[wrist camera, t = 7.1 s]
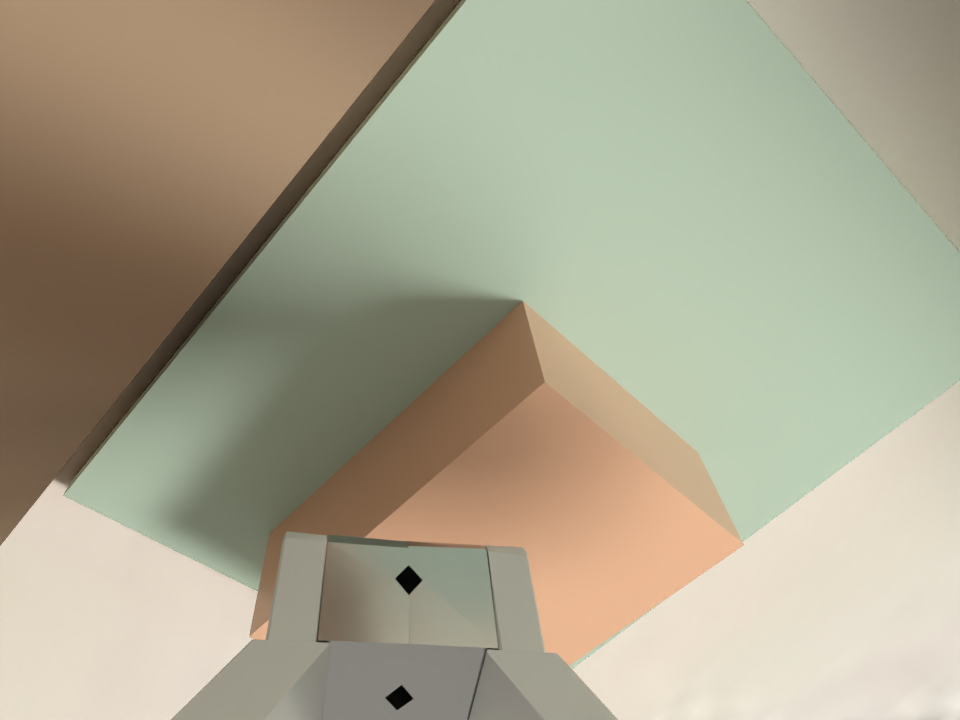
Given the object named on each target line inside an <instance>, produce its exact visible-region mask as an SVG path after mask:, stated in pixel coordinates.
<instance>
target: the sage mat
mask: <svg viewBox="0 0 960 720" xmlns="http://www.w3.org/2000/svg"><path fill="white" fill-rule="evenodd" d="M522 301H524V302H525V303H526V304H527V305H528V306H529V307H531V308H532V309H533V310H534V311H535V312H536V313H538V314H539V315H540V316H541V317H542V318H543V319H544V320H546V321H547V322H548V323H549V324H550V325H551V326H553V327H554V328H555V329H556V330H557V331H558V332H559V333H561V334H562V335H563V336H564V337H565V338H566V339H568V340H569V341H570V342H571V343H572V344H573V345H574V346H576V347H577V348H578V349H579V350H580V351H581V352H583V353H584V354H585V355H586V356H587V357H588V358H589V359H591V360H592V361H593V362H594V363H595V364H596V365H598V366H599V367H600V368H601V369H602V370H603V371H604V372H606V373H607V374H608V375H609V376H610V377H611V378H613V379H614V380H615V381H616V382H617V383H618V384H619V385H621V386H622V387H623V388H624V389H625V390H626V391H628V392H629V393H630V394H631V395H632V396H633V397H634V398H636V399H637V400H638V401H639V402H640V403H641V404H643V405H644V406H645V407H646V408H647V409H648V410H649V411H651V412H652V413H653V414H654V415H655V416H656V417H658V418H659V419H660V420H661V421H662V422H663V423H665V424H666V425H667V426H668V427H669V428H670V429H671V430H673V431H674V432H675V433H676V434H677V435H678V436H680V437H681V438H682V439H683V440H684V441H685V442H686V443H688V444H689V445H690V446H691V447H692V448H693V449H695V450H696V451H697V452H698V453H699V455H700V457H701V459H702V461H703V463H704V465H705V467H706V469H707V471H708V473H709V475H710V477H711V479H712V481H713V483H714V485H715V487H716V489H717V491H718V493H719V496H720V498H721V500H722V502H723V504H724V506H725V508H726V510H727V512H728V514H729V516H730V518H731V520H732V522H733V524H734V526H735V528H736V530H737V532H738V534H739V536H740V538H741V540H742V542H743V541H744V540H746V539H747V538H749V537H750V536H751V535H753V534H754V533H755V532H757V531H758V530H759V529H761V528H762V527H763V526H765V525H766V524H767V523H769V522H770V521H771V520H773V519H774V518H775V517H777V516H778V515H779V514H781V513H782V512H783V511H785V510H786V509H787V508H789V507H790V506H791V505H793V504H794V503H795V502H797V501H798V500H800V499H801V498H802V497H804V496H805V495H806V494H808V493H809V492H810V491H812V490H813V489H814V488H816V487H817V486H818V485H820V484H821V483H822V482H824V481H825V480H826V479H828V478H829V477H830V476H832V475H833V474H834V473H836V472H837V471H838V470H840V469H841V468H842V467H844V466H845V465H847V464H848V463H849V462H851V461H852V460H853V459H855V458H856V457H857V456H859V455H860V454H861V453H863V452H864V451H865V450H867V449H868V448H869V447H871V446H872V445H873V444H875V443H876V442H877V441H879V440H880V439H881V438H883V437H884V436H885V435H887V434H888V433H889V432H891V431H892V430H893V429H895V428H896V427H898V426H899V425H900V424H902V423H903V422H904V421H906V420H907V419H908V418H910V417H911V416H912V415H914V414H915V413H916V412H918V411H919V410H920V409H922V408H923V407H924V406H926V405H927V404H928V403H930V402H931V401H932V400H934V399H935V398H936V397H938V396H939V395H940V394H942V393H943V392H945V391H946V390H947V389H949V388H950V387H951V386H953V385H954V384H955V383H957V382H958V381H959V380H960V252H959V251H958V250H957V249H956V248H955V246H954V245H953V244H952V243H951V242H950V241H949V239H948V238H947V237H946V236H945V235H944V233H943V232H942V231H941V230H940V229H939V228H938V226H937V225H936V224H935V223H934V222H933V220H932V219H931V218H930V217H929V216H928V215H927V213H926V212H925V211H924V210H923V209H922V207H921V206H920V205H919V204H918V203H917V202H916V200H915V199H914V198H913V197H912V196H911V194H910V193H909V192H908V191H907V190H906V189H905V187H904V186H903V185H902V184H901V183H900V181H899V180H898V179H897V178H896V177H895V176H894V174H893V173H892V172H891V171H890V170H889V168H888V167H887V166H886V165H885V164H884V163H883V161H882V160H881V159H880V158H879V157H878V155H877V154H876V153H875V152H874V151H873V150H872V148H871V147H870V146H869V145H868V144H867V142H866V141H865V140H864V139H863V138H862V137H861V135H860V134H859V133H858V132H857V131H856V129H855V128H854V127H853V126H852V125H851V124H850V122H849V121H848V120H847V119H846V118H845V116H844V115H843V114H842V113H841V112H840V111H839V109H838V108H837V107H836V106H835V105H834V103H833V102H832V101H831V100H830V99H829V98H828V96H827V95H826V94H825V93H824V92H823V90H822V89H821V88H820V87H819V86H818V85H817V83H816V82H815V81H814V80H813V79H812V77H811V76H810V75H809V74H808V73H807V72H806V70H805V69H804V68H803V67H802V66H801V65H800V63H799V62H798V61H797V60H796V59H795V57H794V56H793V55H792V54H791V53H790V52H789V50H788V49H787V48H786V47H785V46H784V44H783V43H782V42H781V41H780V40H779V39H778V37H777V36H776V35H775V34H774V33H773V31H772V30H771V29H770V28H769V27H768V26H767V24H766V23H765V22H764V21H763V20H762V18H761V17H760V16H759V15H758V14H757V13H756V11H755V10H754V9H753V8H752V7H751V5H750V4H749V3H748V2H747V1H746V0H461V1H460V2H459V3H458V5H457V6H456V7H455V8H454V10H453V11H452V12H451V13H450V15H449V16H448V17H447V18H446V19H445V21H444V22H443V23H442V24H441V26H440V27H439V28H438V29H437V31H436V32H435V33H434V34H433V35H432V37H431V38H430V39H429V40H428V42H427V43H426V44H425V45H424V47H423V48H422V49H421V50H420V52H419V53H418V54H417V55H416V56H415V58H414V59H413V60H412V61H411V63H410V64H409V65H408V66H407V68H406V69H405V70H404V71H403V72H402V74H401V75H400V76H399V77H398V79H397V80H396V81H395V82H394V84H393V85H392V86H391V87H390V89H389V90H388V91H387V92H386V93H385V95H384V96H383V97H382V98H381V100H380V101H379V102H378V103H377V105H376V106H375V107H374V108H373V109H372V111H371V112H370V113H369V114H368V116H367V117H366V118H365V119H364V121H363V122H362V123H361V124H360V126H359V127H358V128H357V129H356V130H355V132H354V133H353V134H352V135H351V137H350V138H349V139H348V140H347V142H346V143H345V144H344V145H343V146H342V148H341V149H340V150H339V151H338V153H337V154H336V155H335V156H334V158H333V159H332V160H331V161H330V163H329V164H328V165H327V166H326V167H325V169H324V170H323V171H322V172H321V174H320V175H319V176H318V177H317V179H316V180H315V181H314V182H313V183H312V185H311V186H310V187H309V188H308V190H307V191H306V192H305V193H304V195H303V196H302V197H301V198H300V200H299V201H298V202H297V203H296V204H295V206H294V207H293V208H292V209H291V211H290V212H289V213H288V214H287V216H286V217H285V218H284V219H283V220H282V222H281V223H280V224H279V225H278V227H277V228H276V229H275V230H274V232H273V233H272V234H271V235H270V237H269V238H268V239H267V240H266V241H265V243H264V244H263V245H262V246H261V248H260V249H259V250H258V251H257V253H256V254H255V255H254V256H253V257H252V259H251V260H250V261H249V262H248V264H247V265H246V266H245V267H244V269H243V270H242V271H241V272H240V273H239V275H238V276H237V277H236V278H235V280H234V281H233V282H232V283H231V285H230V286H229V287H228V288H227V290H226V291H225V292H224V293H223V294H222V296H221V297H220V298H219V299H218V301H217V302H216V303H215V304H214V306H213V307H212V308H211V309H210V310H209V312H208V313H207V314H206V315H205V317H204V318H203V319H202V320H201V322H200V323H199V324H198V325H197V327H196V328H195V329H194V330H193V331H192V333H191V334H190V335H189V336H188V338H187V339H186V340H185V341H184V343H183V344H182V345H181V346H180V347H179V349H178V350H177V351H176V352H175V354H174V355H173V356H172V357H171V359H170V360H169V361H168V362H167V364H166V365H165V366H164V367H163V368H162V370H161V371H160V372H159V373H158V375H157V376H156V377H155V378H154V380H153V381H152V382H151V383H150V384H149V386H148V387H147V388H146V389H145V391H144V392H143V393H142V394H141V396H140V397H139V398H138V399H137V401H136V402H135V403H134V404H133V405H132V407H131V408H130V409H129V410H128V412H127V413H126V414H125V415H124V417H123V418H122V419H121V420H120V421H119V423H118V424H117V425H116V426H115V428H114V429H113V430H112V431H111V433H110V434H109V435H108V436H107V438H106V439H105V440H104V441H103V442H102V444H101V445H100V446H99V447H98V449H97V450H96V451H95V452H94V454H93V455H92V456H91V457H90V458H89V460H88V461H87V462H86V463H85V465H84V466H83V467H82V468H81V470H80V471H79V472H78V473H77V475H76V476H75V477H74V478H73V479H72V481H71V482H70V484H69V486H68V488H67V490H66V492H65V494H64V495H63V496H65V497H67V498H69V499H71V500H73V501H75V502H78V503H80V504H82V505H84V506H86V507H88V508H90V509H92V510H94V511H96V512H98V513H100V514H102V515H104V516H106V517H108V518H110V519H112V520H114V521H116V522H118V523H120V524H122V525H124V526H126V527H128V528H130V529H132V530H134V531H136V532H139V533H141V534H143V535H145V536H147V537H149V538H151V539H153V540H155V541H157V542H159V543H161V544H163V545H165V546H167V547H169V548H171V549H173V550H175V551H177V552H179V553H181V554H183V555H185V556H187V557H189V558H191V559H193V560H195V561H197V562H200V563H202V564H204V565H206V566H208V567H210V568H212V569H214V570H216V571H218V572H220V573H222V574H224V575H226V576H228V577H230V578H232V579H234V580H236V581H238V582H240V583H242V584H244V585H246V586H248V587H250V588H252V589H254V590H256V591H258V589H259V584H260V579H261V573H262V568H263V563H264V558H265V553H266V548H267V542H268V537H269V533H270V532H271V531H272V530H273V529H275V528H276V527H277V526H278V525H279V524H280V523H281V522H282V521H283V520H284V519H285V518H287V517H288V516H289V515H290V514H291V513H292V512H293V511H294V510H295V509H296V508H297V507H299V506H300V505H301V504H302V503H303V502H304V501H305V500H306V499H307V498H308V497H309V496H311V495H312V494H313V493H314V492H315V491H316V490H317V489H318V488H319V487H320V486H321V485H323V484H324V483H325V482H326V481H327V480H328V479H329V478H330V477H331V476H332V475H333V474H335V473H336V472H337V471H338V470H339V469H340V468H341V467H342V466H343V465H344V464H345V463H346V462H348V461H349V460H350V459H351V458H352V457H353V456H354V455H355V454H356V453H357V452H358V451H360V450H361V449H362V448H363V447H364V446H365V445H366V444H367V443H368V442H369V441H370V440H372V439H373V438H374V437H375V436H376V435H377V434H378V433H379V432H380V431H381V430H382V429H384V428H385V427H386V426H387V425H388V424H389V423H390V422H391V421H392V420H393V419H394V418H396V417H397V416H398V415H399V414H400V413H401V412H402V411H403V410H404V409H405V408H406V407H408V406H409V405H410V404H411V403H412V402H413V401H414V400H415V399H416V398H417V397H418V396H419V395H421V394H422V393H423V392H424V391H425V390H426V389H427V388H428V387H429V386H430V385H431V384H433V383H434V382H435V381H436V380H437V379H438V378H439V377H440V376H441V375H442V374H443V373H445V372H446V371H447V370H448V369H449V368H450V367H451V366H452V365H453V364H454V363H455V362H457V361H458V360H459V359H460V358H461V357H462V356H463V355H464V354H465V353H466V352H467V351H469V350H470V349H471V348H472V347H473V346H474V345H475V344H476V343H477V342H478V341H479V340H481V339H482V338H483V337H484V336H485V335H486V334H487V333H488V332H489V331H490V330H491V329H492V328H494V327H495V326H496V325H497V324H498V323H499V322H500V321H501V320H502V319H503V318H504V317H506V316H507V315H508V314H509V313H510V312H511V311H512V310H513V309H514V308H515V307H516V306H518V305H519V304H520V303H521V302H522ZM662 602H663V601H662ZM659 604H660V603H659ZM659 604H658V605H659ZM655 607H656V606H655ZM655 607H654V608H655ZM652 609H653V608H652ZM652 609H651V610H652ZM651 610H649V611H651ZM649 611H648V612H649ZM648 612H646V613H648ZM646 613H645V614H646ZM645 614H644V615H645ZM644 615H642V616H644ZM642 616H641V617H642ZM641 617H639V618H638V619H640V618H641ZM638 619H636V620H635V621H633V622H632V623H631V624H629V625H628V626H626V627H625V628H623V629H622V630H620V631H619V632H618V633H616V634H615V635H613V636H612V637H610V638H609V639H607V640H606V641H605V642H603V643H602V644H600V645H599V646H597V647H596V648H594V649H593V650H592V651H590V652H589V653H587V654H586V655H584V656H583V657H582V658H580V659H579V660H577V661H576V662H574V663H573V664H571V665H570V666H569V667H570V668H571V669H573V668H574V667H575V666H577V665H578V664H579V663H581V662H582V661H583V660H585V659H586V658H587V657H589V656H590V655H591V654H593V653H594V652H595V651H597V650H598V649H599V648H601V647H602V646H604V645H605V644H606V643H608V642H609V641H610V640H612V639H613V638H614V637H616V636H617V635H618V634H620V633H621V632H622V631H624V630H625V629H626V628H628V627H629V626H630V625H632V624H633V623H634V622H636V621H637V620H638Z"/></svg>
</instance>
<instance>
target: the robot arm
mask: <svg viewBox="0 0 960 720" xmlns="http://www.w3.org/2000/svg"><path fill="white" fill-rule="evenodd" d="M326 547H327V552H326ZM325 558H326V561H325ZM171 720H618V719H617V718H616V717H615V716H614V715H613V714H612V712H611V711H610V710H609V709H608V708H607V707H606V706H605V705H604V704H603V703H602V702H601V700H600V699H599V698H598V697H597V696H596V695H595V694H594V693H593V692H592V691H591V690H590V688H589V687H588V686H587V685H586V684H585V683H584V682H583V681H582V680H581V679H580V678H579V676H578V675H577V674H576V673H575V672H574V671H573V670H572V669H571V668H570V667H569V666H568V664H567V663H566V662H565V661H564V660H563V659H562V658H561V657H560V656H559V655H558V654H557V653H547V652H545V647H544V642H543V636H542V631H541V625H540V620H539V615H538V609H537V604H536V598H535V593H534V587H533V582H532V576H531V571H530V566H529V560H528V555H527V552H526V551H525V549H524V548H523V547H509V546H491V545H485V546H482V545H469V544H452V543H434V542H416V541H396V540H385V539H374V538H363V537H351V536H340V535H329V536H328V544H327V535H318V534H308V533H298V532H286V534H285V537H284V539H283V543H282V549H281V554H280V560H279V566H278V572H277V577H276V583H275V589H274V594H273V600H272V606H271V611H270V617H269V623H268V628H267V634H266V640H256V639H253V640H252V641H251V642H250V643H249V644H248V645H246V646H245V647H244V648H243V649H242V650H241V651H240V652H239V653H238V654H237V655H236V656H235V657H234V658H233V659H232V660H231V661H230V662H229V663H228V664H227V665H226V666H225V667H224V668H223V669H222V670H221V671H220V672H219V673H218V674H217V675H216V676H215V677H214V678H213V679H212V680H211V681H210V682H209V683H208V684H207V685H206V686H205V687H204V688H203V689H202V690H201V691H200V692H199V693H198V694H197V695H196V696H195V697H194V698H193V699H192V700H191V701H190V702H189V703H188V704H187V705H186V706H185V707H184V708H183V709H182V710H180V711H179V712H178V713H177V714H176V715H175V716H174V717H173V718H172V719H171Z"/></svg>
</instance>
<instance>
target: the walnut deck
mask: <svg viewBox="0 0 960 720" xmlns="http://www.w3.org/2000/svg"><path fill="white" fill-rule="evenodd" d="M434 1H435V0H0V545H1V544H2V543H3V542H4V540H5V539H6V538H7V537H8V535H9V534H10V533H11V532H12V530H13V529H14V528H15V527H16V525H17V524H18V523H19V522H20V520H21V519H22V518H23V517H24V515H25V514H26V513H27V512H28V510H29V509H30V508H31V507H32V505H33V504H34V503H35V502H36V500H37V499H38V498H39V497H40V495H41V494H42V493H43V492H44V490H45V489H46V488H47V487H48V485H49V484H50V483H51V482H52V480H53V479H54V478H55V477H56V475H57V474H58V473H59V471H60V470H61V469H62V468H63V466H64V465H65V464H66V463H67V461H68V460H69V459H70V458H71V456H72V455H73V454H74V453H75V451H76V450H77V449H78V448H79V446H80V445H81V444H82V443H83V441H84V440H85V439H86V438H87V436H88V435H89V434H90V433H91V431H92V430H93V429H94V428H95V426H96V425H97V424H98V423H99V421H100V420H101V419H102V418H103V416H104V415H105V414H106V413H107V411H108V410H109V409H110V408H111V406H112V405H113V404H114V402H115V401H116V400H117V399H118V397H119V396H120V395H121V394H122V392H123V391H124V390H125V389H126V387H127V386H128V385H129V384H130V382H131V381H132V380H133V379H134V377H135V376H136V375H137V374H138V372H139V371H140V370H141V369H142V367H143V366H144V365H145V364H146V362H147V361H148V360H149V359H150V357H151V356H152V355H153V354H154V352H155V351H156V350H157V349H158V347H159V346H160V345H161V344H162V342H163V341H164V340H165V339H166V337H167V336H168V335H169V333H170V332H171V331H172V330H173V328H174V327H175V326H176V325H177V323H178V322H179V321H180V320H181V318H182V317H183V316H184V315H185V313H186V312H187V311H188V310H189V308H190V307H191V306H192V305H193V303H194V302H195V301H196V300H197V298H198V297H199V296H200V295H201V293H202V292H203V291H204V290H205V288H206V287H207V286H208V285H209V283H210V282H211V281H212V280H213V278H214V277H215V276H216V275H217V273H218V272H219V271H220V270H221V268H222V267H223V266H224V265H225V263H226V262H227V261H228V259H229V258H230V257H231V256H232V254H233V253H234V252H235V251H236V249H237V248H238V247H239V246H240V244H241V243H242V242H243V241H244V239H245V238H246V237H247V236H248V234H249V233H250V232H251V231H252V229H253V228H254V227H255V226H256V224H257V223H258V222H259V221H260V219H261V218H262V217H263V216H264V214H265V213H266V212H267V211H268V209H269V208H270V207H271V206H272V204H273V203H274V202H275V201H276V199H277V198H278V197H279V196H280V194H281V193H282V192H283V190H284V189H285V188H286V187H287V185H288V184H289V183H290V182H291V180H292V179H293V178H294V177H295V175H296V174H297V173H298V172H299V170H300V169H301V168H302V167H303V165H304V164H305V163H306V162H307V160H308V159H309V158H310V157H311V155H312V154H313V153H314V152H315V150H316V149H317V148H318V147H319V145H320V144H321V143H322V142H323V140H324V139H325V138H326V137H327V135H328V134H329V133H330V132H331V130H332V129H333V128H334V127H335V125H336V124H337V123H338V122H339V120H340V119H341V118H342V116H343V115H344V114H345V113H346V111H347V110H348V109H349V108H350V106H351V105H352V104H353V103H354V101H355V100H356V99H357V98H358V96H359V95H360V94H361V93H362V91H363V90H364V89H365V88H366V86H367V85H368V84H369V83H370V81H371V80H372V79H373V78H374V76H375V75H376V74H377V73H378V71H379V70H380V69H381V68H382V66H383V65H384V64H385V63H386V61H387V60H388V59H389V58H390V56H391V55H392V54H393V53H394V51H395V50H396V49H397V47H398V46H399V45H400V44H401V42H402V41H403V40H404V39H405V37H406V36H407V35H408V34H409V32H410V31H411V30H412V29H413V27H414V26H415V25H416V24H417V22H418V21H419V20H420V19H421V17H422V16H423V15H424V14H425V12H426V11H427V10H428V9H429V7H430V6H431V5H432V4H433V2H434Z"/></svg>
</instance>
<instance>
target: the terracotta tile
mask: <svg viewBox="0 0 960 720" xmlns="http://www.w3.org/2000/svg"><path fill="white" fill-rule="evenodd" d="M286 532H298V533H308V534H318V535H327V544H328V536H329V535H340V536H351V537H363V538H374V539H385V540H396V541H416V542H434V543H452V544H469V545H482V546H485V545H491V546H509V547H523V548H524V549H525V551H526V552H527V555H528V560H529V566H530V571H531V576H532V582H533V587H534V593H535V598H536V604H537V609H538V615H539V620H540V625H541V631H542V636H543V642H544V647H545V652H547V653H557V654H558V655H559V656H560V657H561V658H562V659H563V660H564V661H565V662H566V663H567V664H568V666H570V665H571V664H573V663H574V662H576V661H577V660H579V659H580V658H582V657H583V656H584V655H586V654H587V653H589V652H590V651H592V650H593V649H594V648H596V647H597V646H599V645H600V644H602V643H603V642H605V641H606V640H607V639H609V638H610V637H612V636H613V635H615V634H616V633H618V632H619V631H620V630H622V629H623V628H625V627H626V626H628V625H629V624H631V623H632V622H633V621H635V620H636V619H638V618H639V617H641V616H642V615H644V614H645V613H646V612H648V611H649V610H651V609H652V608H654V607H655V606H657V605H658V604H659V603H661V602H662V601H664V600H665V599H667V598H668V597H670V596H671V595H672V594H674V593H675V592H677V591H678V590H680V589H681V588H683V587H684V586H685V585H687V584H688V583H690V582H691V581H693V580H694V579H696V578H697V577H698V576H700V575H701V574H703V573H704V572H706V571H707V570H708V569H710V568H711V567H713V566H714V565H716V564H717V563H719V562H720V561H721V560H723V559H724V558H726V557H727V556H729V555H730V554H732V553H733V552H734V551H736V550H737V549H739V548H740V547H742V546H743V545H744V544H743V542H742V540H741V538H740V536H739V534H738V532H737V530H736V528H735V526H734V524H733V522H732V520H731V518H730V516H729V514H728V512H727V510H726V508H725V506H724V504H723V502H722V500H721V498H720V496H719V493H718V491H717V489H716V487H715V485H714V483H713V481H712V479H711V477H710V475H709V473H708V471H707V469H706V467H705V465H704V463H703V461H702V459H701V457H700V455H699V453H698V452H697V451H696V450H695V449H693V448H692V447H691V446H690V445H689V444H688V443H686V442H685V441H684V440H683V439H682V438H681V437H680V436H678V435H677V434H676V433H675V432H674V431H673V430H671V429H670V428H669V427H668V426H667V425H666V424H665V423H663V422H662V421H661V420H660V419H659V418H658V417H656V416H655V415H654V414H653V413H652V412H651V411H649V410H648V409H647V408H646V407H645V406H644V405H643V404H641V403H640V402H639V401H638V400H637V399H636V398H634V397H633V396H632V395H631V394H630V393H629V392H628V391H626V390H625V389H624V388H623V387H622V386H621V385H619V384H618V383H617V382H616V381H615V380H614V379H613V378H611V377H610V376H609V375H608V374H607V373H606V372H604V371H603V370H602V369H601V368H600V367H599V366H598V365H596V364H595V363H594V362H593V361H592V360H591V359H589V358H588V357H587V356H586V355H585V354H584V353H583V352H581V351H580V350H579V349H578V348H577V347H576V346H574V345H573V344H572V343H571V342H570V341H569V340H568V339H566V338H565V337H564V336H563V335H562V334H561V333H559V332H558V331H557V330H556V329H555V328H554V327H553V326H551V325H550V324H549V323H548V322H547V321H546V320H544V319H543V318H542V317H541V316H540V315H539V314H538V313H536V312H535V311H534V310H533V309H532V308H531V307H529V306H528V305H527V304H526V303H525V302H524V301H522V302H521V303H520V304H519V305H518V306H516V307H515V308H514V309H513V310H512V311H511V312H510V313H509V314H508V315H507V316H506V317H504V318H503V319H502V320H501V321H500V322H499V323H498V324H497V325H496V326H495V327H494V328H492V329H491V330H490V331H489V332H488V333H487V334H486V335H485V336H484V337H483V338H482V339H481V340H479V341H478V342H477V343H476V344H475V345H474V346H473V347H472V348H471V349H470V350H469V351H467V352H466V353H465V354H464V355H463V356H462V357H461V358H460V359H459V360H458V361H457V362H455V363H454V364H453V365H452V366H451V367H450V368H449V369H448V370H447V371H446V372H445V373H443V374H442V375H441V376H440V377H439V378H438V379H437V380H436V381H435V382H434V383H433V384H431V385H430V386H429V387H428V388H427V389H426V390H425V391H424V392H423V393H422V394H421V395H419V396H418V397H417V398H416V399H415V400H414V401H413V402H412V403H411V404H410V405H409V406H408V407H406V408H405V409H404V410H403V411H402V412H401V413H400V414H399V415H398V416H397V417H396V418H394V419H393V420H392V421H391V422H390V423H389V424H388V425H387V426H386V427H385V428H384V429H382V430H381V431H380V432H379V433H378V434H377V435H376V436H375V437H374V438H373V439H372V440H370V441H369V442H368V443H367V444H366V445H365V446H364V447H363V448H362V449H361V450H360V451H358V452H357V453H356V454H355V455H354V456H353V457H352V458H351V459H350V460H349V461H348V462H346V463H345V464H344V465H343V466H342V467H341V468H340V469H339V470H338V471H337V472H336V473H335V474H333V475H332V476H331V477H330V478H329V479H328V480H327V481H326V482H325V483H324V484H323V485H321V486H320V487H319V488H318V489H317V490H316V491H315V492H314V493H313V494H312V495H311V496H309V497H308V498H307V499H306V500H305V501H304V502H303V503H302V504H301V505H300V506H299V507H297V508H296V509H295V510H294V511H293V512H292V513H291V514H290V515H289V516H288V517H287V518H285V519H284V520H283V521H282V522H281V523H280V524H279V525H278V526H277V527H276V528H275V529H273V530H272V531H271V532H270V533H269V537H268V542H267V548H266V553H265V558H264V563H263V568H262V573H261V579H260V584H259V589H258V594H257V599H256V604H255V610H254V615H253V620H252V625H251V630H250V635H249V637H251V638H253V639H256V640H266V634H267V628H268V623H269V617H270V611H271V606H272V600H273V594H274V589H275V583H276V577H277V572H278V566H279V560H280V554H281V549H282V543H283V539H284V537H285V534H286ZM326 552H327V547H326ZM325 561H326V558H325Z"/></svg>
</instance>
